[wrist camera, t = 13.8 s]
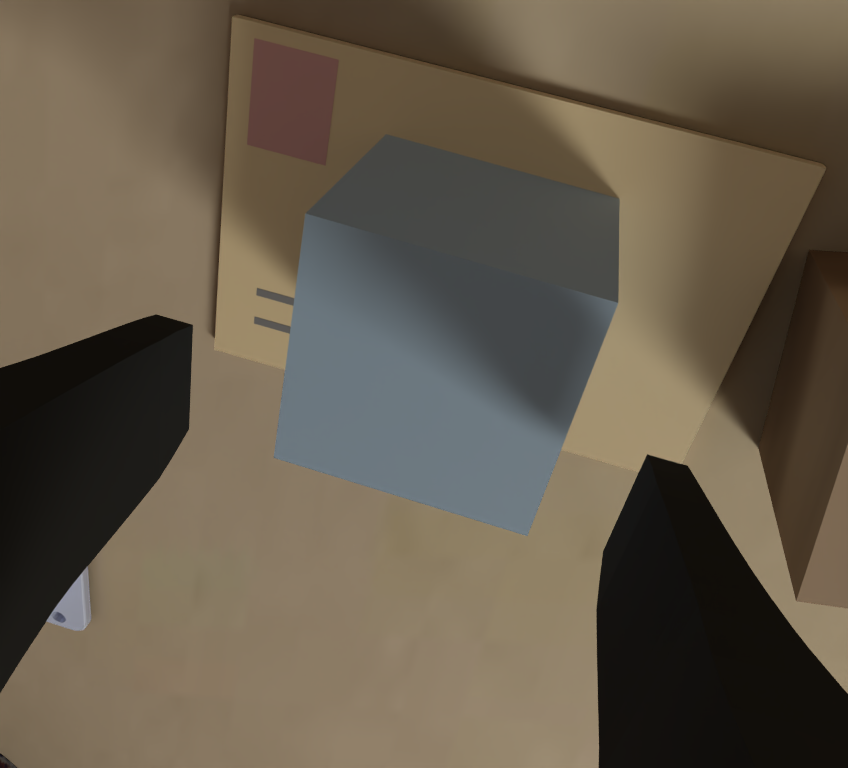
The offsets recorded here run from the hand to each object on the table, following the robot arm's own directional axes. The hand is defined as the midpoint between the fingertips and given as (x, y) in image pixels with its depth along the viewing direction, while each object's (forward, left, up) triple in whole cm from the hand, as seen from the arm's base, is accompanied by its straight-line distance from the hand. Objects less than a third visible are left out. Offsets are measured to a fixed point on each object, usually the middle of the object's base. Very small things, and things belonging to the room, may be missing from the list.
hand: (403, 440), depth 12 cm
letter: (0, 0, -7) cm, 7 cm away
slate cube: (0, 0, -7) cm, 7 cm away
